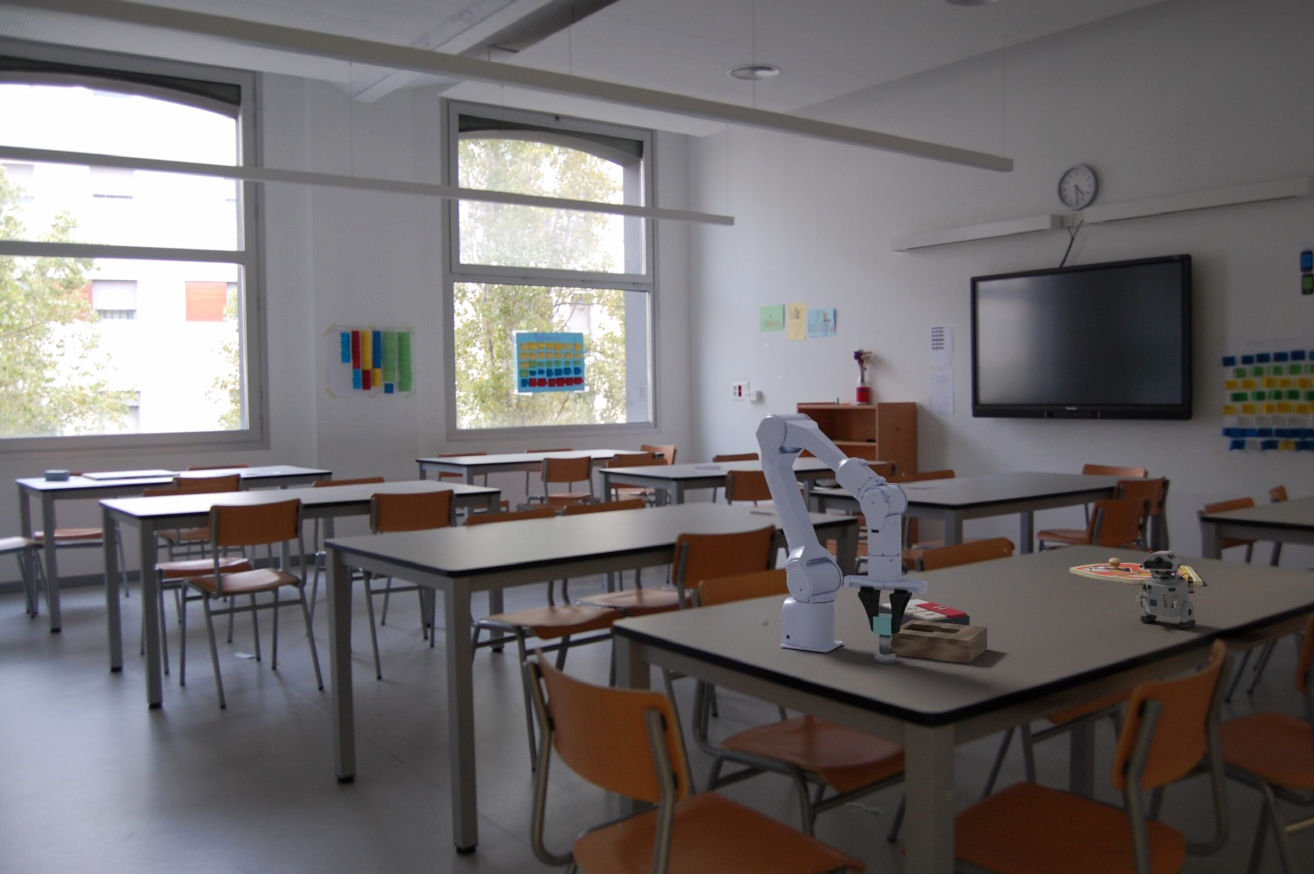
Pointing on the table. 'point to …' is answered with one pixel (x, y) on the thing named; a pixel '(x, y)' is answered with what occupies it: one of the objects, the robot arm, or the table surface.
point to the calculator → (929, 613)
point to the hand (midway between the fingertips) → (885, 631)
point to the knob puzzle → (1127, 572)
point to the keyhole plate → (940, 641)
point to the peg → (884, 639)
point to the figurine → (1166, 590)
